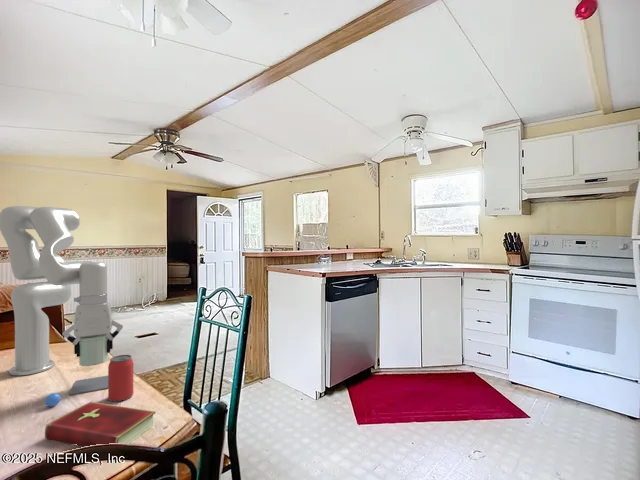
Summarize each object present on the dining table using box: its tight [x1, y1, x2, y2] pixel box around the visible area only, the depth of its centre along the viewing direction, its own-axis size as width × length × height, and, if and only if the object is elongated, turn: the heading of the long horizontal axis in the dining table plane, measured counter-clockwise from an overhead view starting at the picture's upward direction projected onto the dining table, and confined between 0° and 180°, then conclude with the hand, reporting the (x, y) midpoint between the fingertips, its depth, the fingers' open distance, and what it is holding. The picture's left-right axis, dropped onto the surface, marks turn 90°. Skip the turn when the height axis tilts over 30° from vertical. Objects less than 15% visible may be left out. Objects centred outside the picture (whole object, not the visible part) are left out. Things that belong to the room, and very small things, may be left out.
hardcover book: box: [44, 401, 157, 448], centre depth 83 cm, size 12×21×4 cm, turn 76°
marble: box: [44, 392, 61, 407], centre depth 96 cm, size 4×4×4 cm
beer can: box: [107, 354, 134, 403], centre depth 101 cm, size 7×7×12 cm
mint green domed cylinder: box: [78, 335, 109, 367], centre depth 109 cm, size 8×8×8 cm
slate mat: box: [69, 375, 108, 396], centre depth 109 cm, size 11×11×1 cm
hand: (94, 353), depth 109 cm, fingers closed on mint green domed cylinder, 7 cm apart
